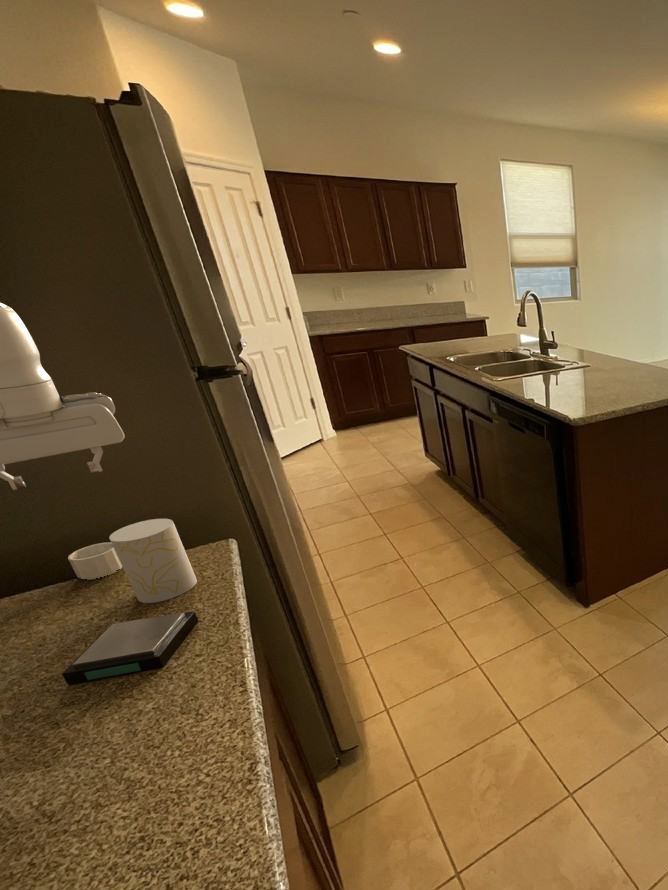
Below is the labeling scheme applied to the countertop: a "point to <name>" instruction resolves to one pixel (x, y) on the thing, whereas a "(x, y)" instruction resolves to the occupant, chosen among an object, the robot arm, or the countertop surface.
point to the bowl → (95, 561)
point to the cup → (154, 560)
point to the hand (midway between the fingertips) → (59, 479)
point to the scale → (132, 647)
